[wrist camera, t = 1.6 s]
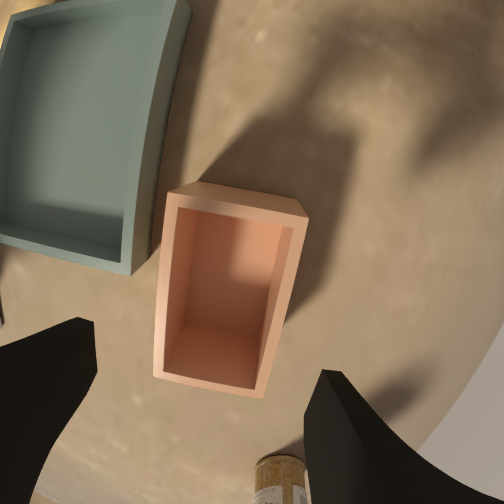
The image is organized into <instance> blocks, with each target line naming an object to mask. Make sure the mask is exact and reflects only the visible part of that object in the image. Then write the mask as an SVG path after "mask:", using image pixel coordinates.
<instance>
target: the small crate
mask: <svg viewBox="0 0 504 504" xmlns="http://www.w3.org/2000/svg"><path fill="white" fill-rule="evenodd" d="M308 221H309V217H308V216H307V214H306V213H305V211H304V210H303V208H302V207H301V205H300V204H299V202H298V201H297V199H293V198H288V197H283V196H278V195H273V194H268V193H263V192H258V191H253V190H247V189H242V188H236V187H231V186H225V185H219V184H213V183H208V182H202V181H195V182H192V183H190V184H187V185H185V186H182V187H179V188H177V189H174V190H172V191H169V192H168V193H167V200H166V208H165V216H164V224H163V233H162V242H161V252H160V263H159V274H158V286H157V300H156V316H155V336H154V364H153V376H154V377H157V378H161V379H165V380H169V381H174V382H178V383H182V384H186V385H191V386H195V387H200V388H205V389H210V390H215V391H220V392H225V393H231V394H236V395H242V396H248V397H255V398H261V399H263V396H264V392H265V389H266V385H267V382H268V378H269V375H270V371H271V368H272V364H273V360H274V357H275V353H276V350H277V346H278V342H279V338H280V335H281V331H282V327H283V323H284V320H285V316H286V312H287V308H288V304H289V300H290V296H291V292H292V288H293V284H294V280H295V276H296V272H297V268H298V264H299V260H300V255H301V251H302V247H303V243H304V238H305V234H306V230H307V225H308Z"/></svg>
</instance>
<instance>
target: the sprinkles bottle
mask: <svg viewBox="0 0 504 504" xmlns="http://www.w3.org/2000/svg"><path fill="white" fill-rule="evenodd" d="M254 472H255V475H256V477H255V495H254V504H308V502H307V493H306V491H305V478H304V473H305V465H304V463H303V462H302V461H301V460H299V459H298V458H295V457H291V456H287V455H285V456H282V455H279V456H272V457H268V458H265V459H263V460H261V461H260V462H259V463H257V465H256V466H255V470H254Z"/></svg>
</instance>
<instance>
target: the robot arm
mask: <svg viewBox="0 0 504 504" xmlns="http://www.w3.org/2000/svg"><path fill="white" fill-rule="evenodd" d="M1 328H2V324H1V319H0V329H1ZM97 372H98V370H97V360H96V349H95V335H94V322H93V321H89V320H86V319H83V318H80V317H76V318H73V319H70V320H68V321H65V322H62V323H60V324H57V325H55V326H53V327H50V328H48V329H45V330H43V331H41V332H38V333H36V334H33V335H31V336H28V337H26V338H23V339H21V340H18V341H15V342H12V343H9V344H7V345H4V346H1V347H0V504H29V502H30V499H31V496H32V493H33V490H34V488H35V485H36V482H37V480H38V477H39V475H40V472H41V470H42V468H43V465H44V463H45V461H46V459H47V456H48V454H49V452H50V450H51V448H52V447H53V445H54V443H55V441H56V440H57V438H58V437H59V435H60V434H61V432H62V431H63V429H64V428H65V426H66V425H67V423H68V422H69V420H70V419H71V417H72V416H73V414H74V413H75V411H76V410H77V408H78V407H79V405H80V404H81V402H82V401H83V399H84V398H85V396H86V394H87V392H88V390H89V388H90V386H91V384H92V382H93V380H94V378H95V376H96V374H97ZM304 448H305V455H306V463H307V470H308V478H309V485H310V493H311V502H312V504H504V501H502V500H499V499H496V498H494V497H491V496H488V495H486V494H483V493H481V492H479V491H476V490H474V489H472V488H470V487H468V486H466V485H464V484H462V483H460V482H459V481H457V480H455V479H453V478H452V477H450V476H448V475H447V474H445V473H444V472H442V471H441V470H439V469H438V468H436V467H435V466H433V465H432V464H430V463H429V462H428V461H426V460H425V459H424V458H422V457H421V456H420V455H419V454H417V452H415V451H414V450H413V449H412V448H410V447H409V446H408V445H407V444H406V443H405V442H404V441H403V440H402V439H400V438H399V437H398V436H397V435H396V434H395V433H394V432H393V431H392V430H391V429H390V428H389V427H388V426H387V425H386V423H385V422H384V421H383V420H382V419H381V418H380V417H379V416H378V415H377V414H376V412H375V411H374V410H373V409H372V408H371V407H370V406H369V404H368V403H367V402H366V401H365V400H364V398H363V397H362V396H361V395H360V394H359V392H358V391H357V390H356V389H355V388H354V386H353V385H352V384H351V383H350V381H349V380H348V379H347V378H346V377H345V375H344V374H343V373H342V372H341V371H333V370H324V369H322V371H321V374H320V376H319V379H318V382H317V384H316V387H315V389H314V392H313V394H312V397H311V399H310V402H309V404H308V407H307V409H306V412H305V414H304Z"/></svg>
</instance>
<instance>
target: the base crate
mask: <svg viewBox="0 0 504 504" xmlns="http://www.w3.org/2000/svg"><path fill="white" fill-rule="evenodd" d="M191 15H192V10H191V8H190V6H189V5H188V3H187V1H186V0H68V1H63V2H58V3H54V4H49V5H45V6H41V7H37V8H33V9H30V10H26V11H23V12H19V13H16V14H13V15H11V17H10V20H9V23H8V26H7V29H6V32H5V35H4V39H3V42H2V45H1V49H0V243H3V244H6V245H10V246H13V247H17V248H21V249H24V250H28V251H31V252H35V253H39V254H42V255H46V256H50V257H54V258H58V259H61V260H65V261H69V262H73V263H77V264H81V265H85V266H89V267H93V268H97V269H101V270H106V271H110V272H114V273H118V274H122V275H127V276H131V275H132V274H133V273H134V272H136V271H137V270H138V269H139V268H140V267H141V266H142V265H143V264H144V263H145V262H146V261H147V260H148V259H149V256H150V245H151V234H152V225H153V215H154V207H155V199H156V191H157V183H158V176H159V169H160V162H161V156H162V149H163V143H164V137H165V132H166V126H167V120H168V115H169V110H170V105H171V100H172V95H173V90H174V85H175V80H176V76H177V71H178V67H179V62H180V58H181V54H182V50H183V46H184V42H185V38H186V34H187V30H188V26H189V22H190V19H191Z"/></svg>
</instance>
